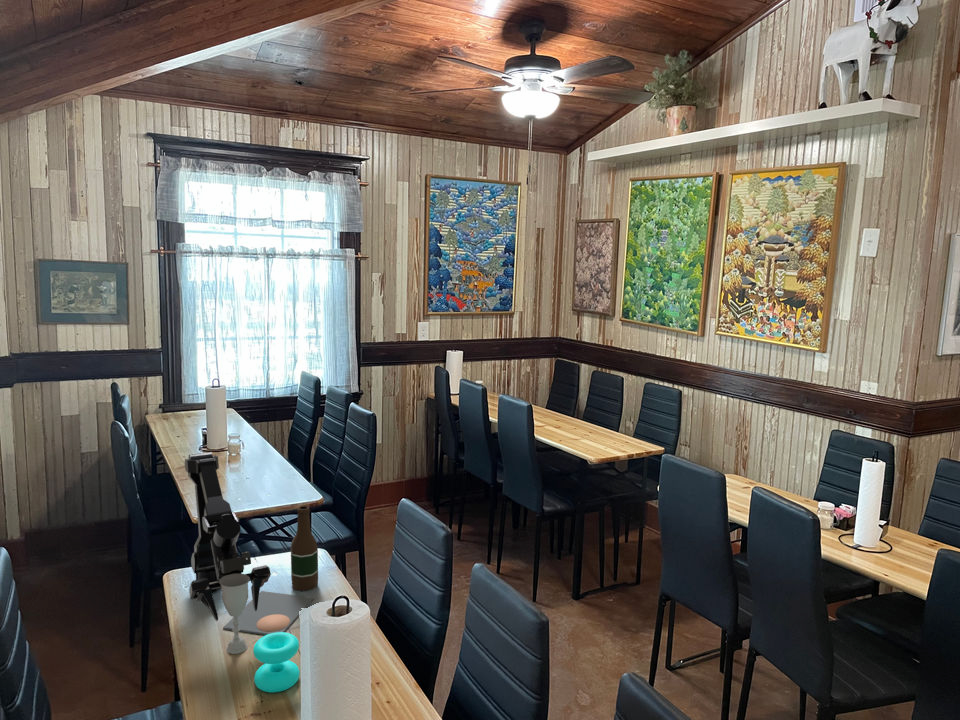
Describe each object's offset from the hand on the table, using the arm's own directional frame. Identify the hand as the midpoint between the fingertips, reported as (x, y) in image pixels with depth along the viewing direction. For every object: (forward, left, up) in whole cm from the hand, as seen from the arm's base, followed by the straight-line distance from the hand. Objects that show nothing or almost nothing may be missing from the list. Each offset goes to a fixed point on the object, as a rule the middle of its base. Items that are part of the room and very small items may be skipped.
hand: (236, 615), depth 172 cm
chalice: (-1, +1, -10) cm, 10 cm away
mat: (-1, +18, -9) cm, 20 cm away
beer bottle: (+1, +35, -10) cm, 36 cm away
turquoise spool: (+15, -9, -10) cm, 20 cm away
